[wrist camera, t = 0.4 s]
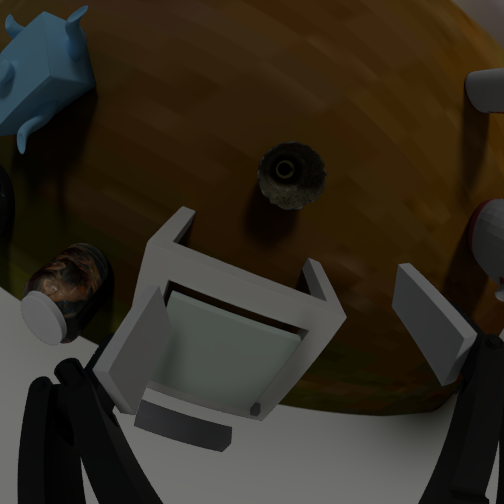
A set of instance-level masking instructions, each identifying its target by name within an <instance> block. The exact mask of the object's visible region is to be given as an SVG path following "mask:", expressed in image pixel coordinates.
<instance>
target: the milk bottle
mask: <svg viewBox="0 0 504 504" xmlns="http://www.w3.org/2000/svg"><path fill="white" fill-rule="evenodd" d="M465 87H466V92H467V95H468V98H469V100H470V102H471V103H472V105H473V106H474V107H475V108H476V109H477V110H479V111H480V112H483V113H502V114H504V68H498V69H489V70H482V71H475V72H471V73H469V74H468V76H467V77H466V81H465Z"/></svg>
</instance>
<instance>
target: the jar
mask: <svg viewBox="0 0 504 504" xmlns="http://www.w3.org/2000/svg"><path fill="white" fill-rule="evenodd" d="M113 286H114V276H113V271H112V268H111V266H110V264H109V262H108V260H107V258H106V257H105V256H104V255H103V253H102V252H101V251H99V250H98V249H97V248H96V247H94V246H92V245H90V244H87V243H76V244H74V245H72V246H70V247H69V248H67V249H66V250H64V251H63V252H61V253H60V254H59V255H57V256H56V257H55V258H53V259H52V260H51V261H49V262H48V263H47V264H46V265H44V266H43V267H42V268H41V269H40V270H38V271H37V272H36V273H35V274H34V275H33V276H32V277H31V278H30V279H29V280H28V281H27V282H26V284H25V287H24V290H23V300H22V302H21V312H22V316H23V319H24V321H25V323H26V325H27V326H28V328H29V329H30V330H31V332H32V333H33V334H34V335H35V336H36V337H37V338H38V339H40V340H41V341H42V342H44V343H46V344H49V345H57V344H59V343H70V342H72V341H74V340H75V339H76V338H77V337H78V336H79V335H80V333H81V332H82V331H83V330H84V328H85V327H86V326H87V325H88V323H89V322H90V321H91V319H92V318H93V317H94V316H95V314H96V313H97V312H98V310H99V309H100V308H101V306H102V305H103V304H104V303H105V301H106V300H107V299H108V297H109V296H110V294H111V292H112V290H113Z"/></svg>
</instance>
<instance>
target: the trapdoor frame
mask: <svg viewBox="0 0 504 504" xmlns="http://www.w3.org/2000/svg"><path fill="white" fill-rule="evenodd" d="M195 212H196V211H194V210H191V209H189V208H186V207H183V206H182V207H181V208H180V209H179V210H178V211H177V212H176V213H175V214H174V215H173V216H172V217H171V218H170V219H169V220H168V221H167V222H166V223H165V224H164V225H163V226H162V227H161V228H160V229H159V230H158V231H157V232H156V233H155V234H154V236H153V237H152V238H151V239H150V240H149V241H148V243H147V246H146V250H145V254H144V257H143V261H142V265H141V269H140V273H139V277H138V282H137V286H136V290H135V295H134V300H133V304H132V307H133V306H134V304H135V303H136V301H137V300H138V298H139V297H140V295H141V294H142V293H143V291H144V290H145V288H146V287H147V286H158V285H159V286H160V290H161V293H162V297H163V300H164V298H165V295H166V292H167V289H168V285H169V282H170V280H171V281H173V282H176V283H178V284H181V285H183V286H186V287H188V288H191V289H193V290H196V291H199V292H201V293H204V294H206V295H209V296H212V297H214V298H217V299H219V300H222V301H225V302H228V303H230V304H233V305H236V306H238V307H241V308H244V309H247V310H250V311H252V312H255V313H258V314H261V315H264V316H267V317H270V318H273V319H276V320H279V321H282V322H285V323H288V324H291V325H294V326H297V327H300V328H301V329H300V330H299V332H298V333H297V335H299V336H300V338H301V343H300V344H299V346H298V347H297V348H296V350H295V351H294V353H293V354H292V355H291V357H290V358H289V359H288V361H287V362H286V363H285V365H284V366H283V367H282V369H281V370H280V371H279V373H278V374H277V375H276V377H275V378H274V379H273V381H272V382H271V383H270V384H269V386H268V387H267V388H266V390H265V391H264V392H263V393H262V395H261V396H260V397H259V398H258V400H257V401H256V402H255V403H254V404H253V406H252V407H251V408H250V409H249V410H244V409H240V408H236V407H232V406H228V405H224V404H220V403H217V402H213V401H210V400H206V399H203V398H200V397H197V396H193V395H190V394H187V393H184V392H181V391H178V390H175V389H172V388H170V387H167V386H164V385H161V384H159V383H156V382H154V381H151V380H149V381H148V384H147V386H146V387H147V388H150V389H153V390H155V391H158V392H161V393H163V394H166V395H169V396H172V397H175V398H178V399H181V400H184V401H187V402H190V403H193V404H196V405H200V406H203V407H206V408H210V409H213V410H217V411H221V412H225V413H229V414H233V415H237V416H241V417H246V418H250V419H255V420H260V421H262V420H263V419H264V418H265V417H266V416H267V415H268V414H269V413H270V412H271V411H272V410H273V408H275V406H276V405H277V404H278V403H279V402H280V401H281V400H282V399H283V398H284V396H285V395H286V394H287V393H288V392H289V391H290V390H291V388H292V387H293V386H294V385H295V384H296V383H297V381H298V380H299V379H300V378H301V377H302V375H303V374H304V373H305V372H306V370H307V369H308V368H309V367H310V366H311V364H312V363H313V362H314V361H315V359H316V358H317V357H318V355H319V354H320V353H321V352H322V350H323V349H324V348H325V346H326V345H327V344H328V342H329V341H330V340H331V338H332V337H333V336H334V334H335V333H336V332H337V330H338V329H339V327H340V326H341V325H342V323H343V322H344V320H345V319H346V318H347V317H346V315H345V313H344V311H343V309H342V307H341V305H340V302H339V300H338V298H337V296H336V294H335V292H334V290H333V288H332V286H331V284H330V282H329V280H328V278H327V276H326V274H325V272H324V270H323V268H322V266H321V264H320V262H317V261H315V260H313V259H310V258H308V259H307V261H306V263H305V265H304V266H303V268H302V270H303V273H304V276H305V278H306V281H307V284H308V287H309V290H310V293H311V295H312V296H310V295H308V294H305V293H302V292H300V291H297V290H294V289H292V288H289V287H286V286H284V285H281V284H278V283H276V282H273V281H271V280H268V279H265V278H263V277H260V276H258V275H255V274H252V273H250V272H247V271H245V270H242V269H240V268H237V267H234V266H232V265H229V264H227V263H224V262H222V261H219V260H217V259H214V258H212V257H209V256H207V255H204V254H202V253H199V252H197V251H194V250H192V249H189V248H187V247H184V246H182V245H179V244H177V243H178V242H179V241H180V239H181V238H182V236H183V235H184V233H185V232H186V230H187V229H188V228H189V226H190V225H191V223H192V220H193V217H194V215H195Z"/></svg>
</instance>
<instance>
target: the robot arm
mask: <svg viewBox="0 0 504 504" xmlns="http://www.w3.org/2000/svg"><path fill="white" fill-rule="evenodd" d="M13 217H14V195H13V190H12V185H11V182H10V179H9V177H8V175H7V173H6V171H5V170H4V169H3V168H2V167H1V166H0V236H1V235H3V234H5V233H6V232H7V231H8V230H9V229H10V227H11V225H12V222H13ZM392 307H393V309H394V310H395V312H396V313H397V315H398V316H399V317H400V319H401V320H402V322H403V323H404V325H405V326H406V328H407V329H408V331H409V332H410V334H411V336H412V337H413V339H414V340H415V342H416V343H417V345H418V346H419V348H420V350H421V351H422V353H423V354H424V356H425V358H426V359H427V361H428V363H429V364H430V366H431V368H432V369H433V371H434V373H435V374H436V376H437V378H438V380H439V381H440V383H441V385H442V386H445V385H447V384H450V383H453V382H455V381H456V379H457V377H458V375H459V373H461V374H462V376H463V379H462V381H461V383H460V384H459V386H458V388H457V390H456V392H455V394H457V392H458V391H459V393H458V398H457V402H456V405H455V409H454V413H453V417H452V420H451V424H450V427H449V430H448V434H447V437H446V440H445V442H444V445H443V448H442V451H441V454H440V456H439V459H438V462H437V464H436V466H435V469H434V471H433V474H432V476H431V478H430V480H429V483H428V485H427V487H426V489H425V491H424V493H423V495H422V497H421V499H420V501H419V503H418V504H489V499H488V498H486V497H485V492H486V488H487V486H488V482H489V479H490V475H491V472H492V468H493V464H494V460H495V456H496V451H497V447H498V441H499V478H498V490H497V499H496V504H504V342H503V340H502V339H500V337H498V336H496V335H494V334H487V335H485V333H484V332H483V331H482V330H481V329H480V328H479V327H478V325H477V324H476V323H475V322H474V321H473V320H472V319H470V317H469V316H468V314H466V312H465V311H464V310H463V309H462V308H461V307H460V306H458V305H456V304H455V303H453V302H450V303H449V302H448V301H447V300H446V299H445V298H444V297H443V296H442V295H441V294H440V293H439V291H438V290H437V289H436V288H435V287H434V286H433V285H432V284H431V283H430V282H429V281H428V280H427V279H426V278H425V277H424V276H422V275H421V274H420V273H419V272H418V271H417V270H416V269H415V268H414V267H413V266H412V265H411V264H410V263H406V264H398V270H397V277H396V284H395V291H394V297H393V303H392ZM170 328H171V323H170V320H169V317H168V314H167V310H166V307H165V304H164V300H163V297H162V293H161V290H160V286H159V285H158V286H147V287H146V288H145V290H144V291H143V293H142V294H141V295H140V297H139V298H138V300H137V301H136V303H135V304H134V306H133V307H132V309H131V310H130V312H129V313H128V315H127V316H126V318H125V319H124V321H123V322H122V324H121V325H120V327H119V328H118V330H117V331H116V333H115V334H114V333H111V334H109V335H108V336H107V337H106V338H104V339H103V341H102V342H101V344H100V345H99V348H97V350H96V351H95V354H93V356H92V357H91V359H90V361H89V362H88V364H87V366H86V367H85V368H83V367H82V365H81V363H80V362H79V360H78V359H76V358H68V359H65V360H63V361H61V362H60V363H59V364H58V365H57V366H56V368H55V370H54V374H55V376H56V377H57V379H58V380H59V382H60V383H61V384H53V383H52V382H51V381H50V379H49V378H48V377H46V376H45V377H44V376H42V377H39V378H36V379H35V380H34V381H33V382H32V383H31V385H30V387H29V391H28V396H27V400H26V406H25V411H24V417H23V423H22V430H21V438H20V447H19V459H18V460H19V461H18V504H86V500H85V494H84V487H83V479H82V469H81V459H82V462H83V465H84V468H85V471H86V473H87V476H88V479H89V481H90V484H91V486H92V489H93V491H94V493H95V495H96V498H97V500H98V502H99V504H163V503H162V501H161V500H160V498H159V497H158V495H157V493H156V492H155V490H154V489H153V487H152V486H151V484H150V482H149V481H148V479H147V477H146V476H145V474H144V472H143V470H142V469H141V467H140V465H139V463H138V461H137V460H136V458H135V456H134V454H133V452H132V450H131V448H130V446H129V444H128V442H127V440H126V438H125V436H124V434H123V432H122V430H121V427H120V425H119V423H118V421H117V419H116V416H115V414H114V413H113V412H112V410H113V408H114V406H116V407H117V409H118V410H119V411H120V413H125V414H130V415H136V412H137V409H138V407H139V404H140V401H141V399H142V396H143V394H144V391H145V389H146V386H147V384H148V381H149V378H150V376H151V374H152V371H153V369H154V366H155V364H156V361H157V359H158V356H159V354H160V352H161V349H162V347H163V344H164V342H165V340H166V337H167V335H168V333H169V330H170Z"/></svg>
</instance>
